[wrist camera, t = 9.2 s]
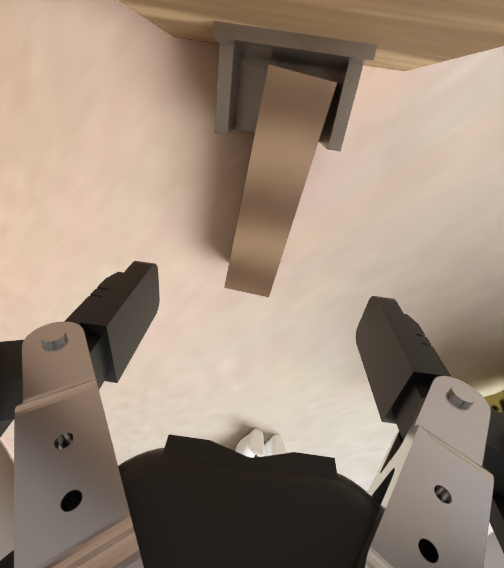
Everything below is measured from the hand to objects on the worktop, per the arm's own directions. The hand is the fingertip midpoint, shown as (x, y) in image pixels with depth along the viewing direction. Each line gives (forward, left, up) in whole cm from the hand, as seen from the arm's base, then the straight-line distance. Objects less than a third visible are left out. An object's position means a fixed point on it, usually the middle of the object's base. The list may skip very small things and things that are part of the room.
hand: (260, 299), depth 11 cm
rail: (0, 0, -16) cm, 16 cm away
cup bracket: (-7, 0, -16) cm, 18 cm away
